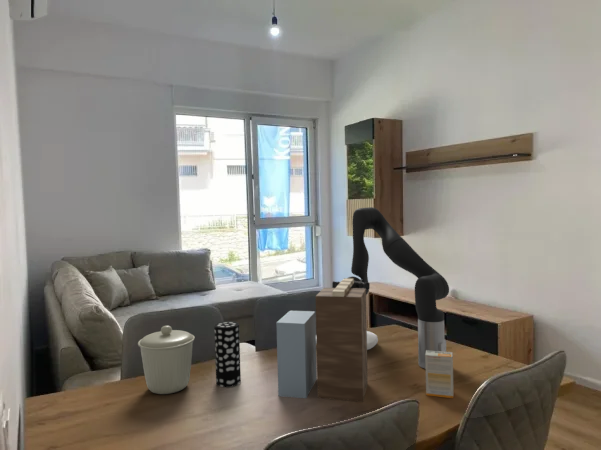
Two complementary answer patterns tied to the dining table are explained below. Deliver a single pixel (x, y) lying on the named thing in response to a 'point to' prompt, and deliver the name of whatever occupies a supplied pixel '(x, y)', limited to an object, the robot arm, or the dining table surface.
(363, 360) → the walnut box
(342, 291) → the slat
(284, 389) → the gray rectangular box
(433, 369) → the supplement box
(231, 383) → the white-spotted black cylinder
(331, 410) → the dining table surface
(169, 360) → the canister
